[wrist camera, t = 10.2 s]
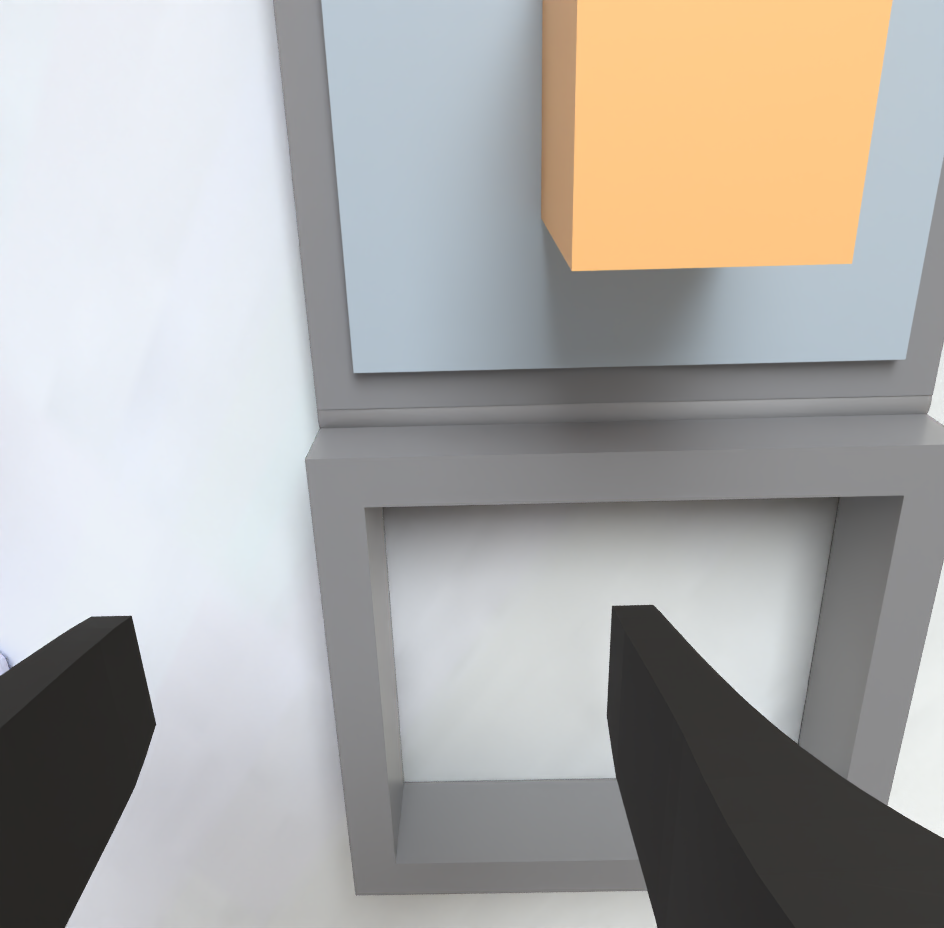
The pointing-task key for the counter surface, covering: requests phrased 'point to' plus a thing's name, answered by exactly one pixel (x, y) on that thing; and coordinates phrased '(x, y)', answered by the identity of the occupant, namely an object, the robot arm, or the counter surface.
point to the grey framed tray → (590, 399)
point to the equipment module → (707, 130)
